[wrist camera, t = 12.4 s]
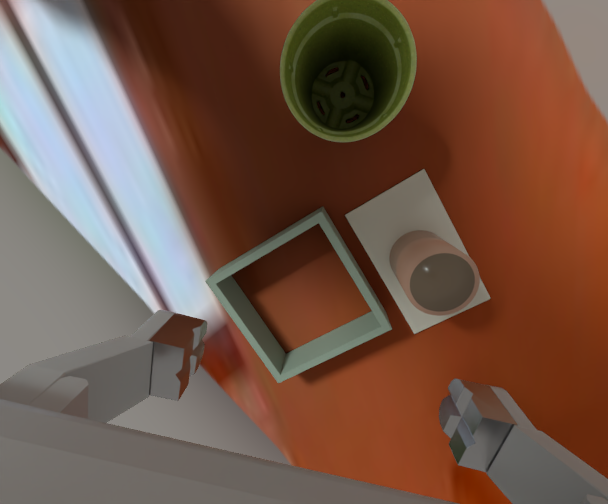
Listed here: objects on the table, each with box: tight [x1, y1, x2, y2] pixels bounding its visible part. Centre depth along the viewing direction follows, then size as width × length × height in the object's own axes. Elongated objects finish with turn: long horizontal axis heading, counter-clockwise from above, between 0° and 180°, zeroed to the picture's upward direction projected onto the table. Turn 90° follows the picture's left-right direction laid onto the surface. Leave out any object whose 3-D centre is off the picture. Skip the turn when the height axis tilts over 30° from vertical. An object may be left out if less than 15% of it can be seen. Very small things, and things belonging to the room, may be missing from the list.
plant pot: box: [280, 0, 417, 142], centre depth 25 cm, size 9×9×9 cm
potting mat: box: [345, 169, 491, 334], centre depth 33 cm, size 16×9×1 cm, turn 32°
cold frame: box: [206, 207, 392, 383], centre depth 33 cm, size 14×14×4 cm
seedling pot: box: [389, 230, 480, 316], centre depth 29 cm, size 6×6×8 cm
